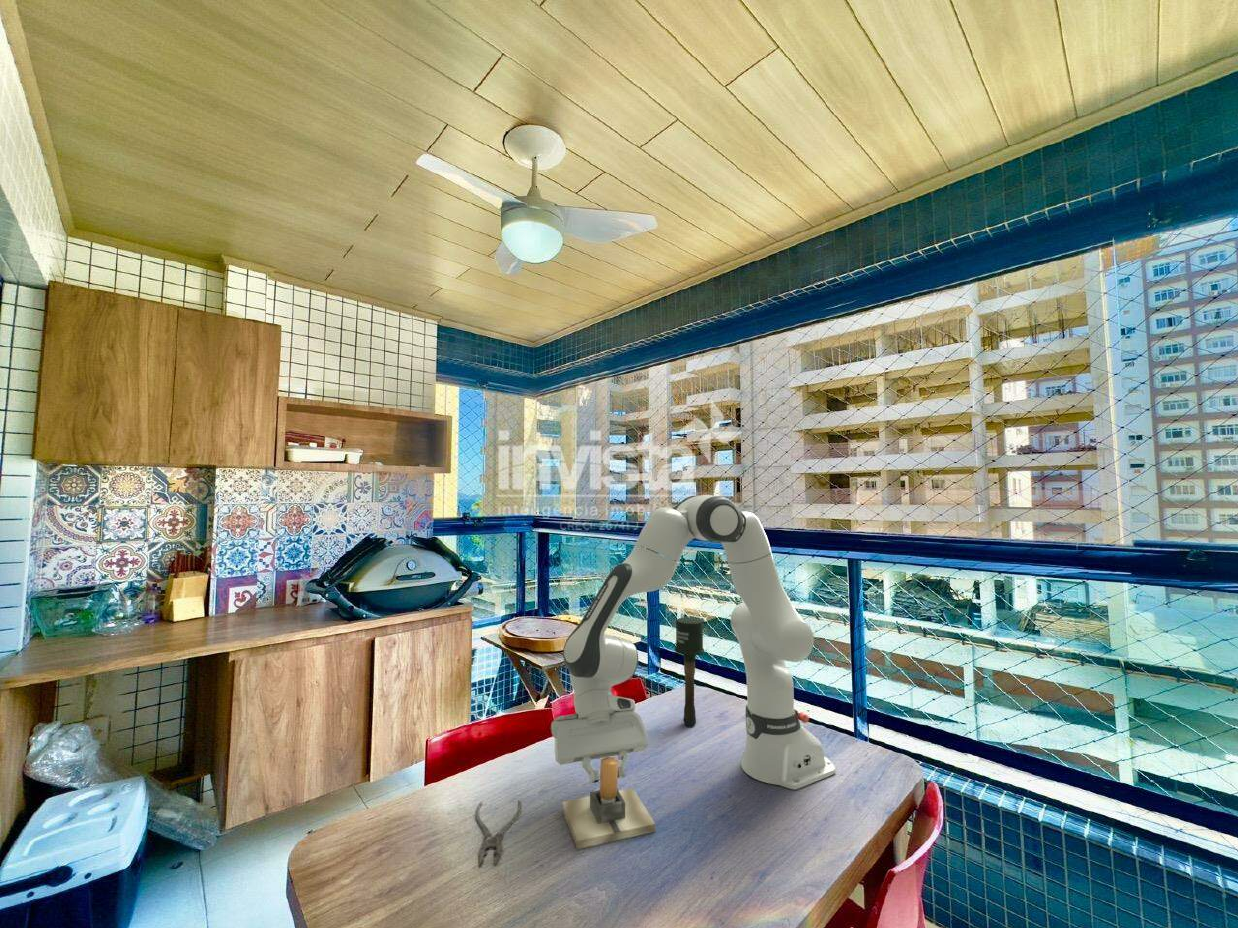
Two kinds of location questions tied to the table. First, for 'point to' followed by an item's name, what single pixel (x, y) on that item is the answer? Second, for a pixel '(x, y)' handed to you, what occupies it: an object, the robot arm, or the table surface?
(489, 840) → the pliers
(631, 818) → the cream rectangular base board
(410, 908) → the table surface
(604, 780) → the orange rounded handle
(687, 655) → the stick grenade
